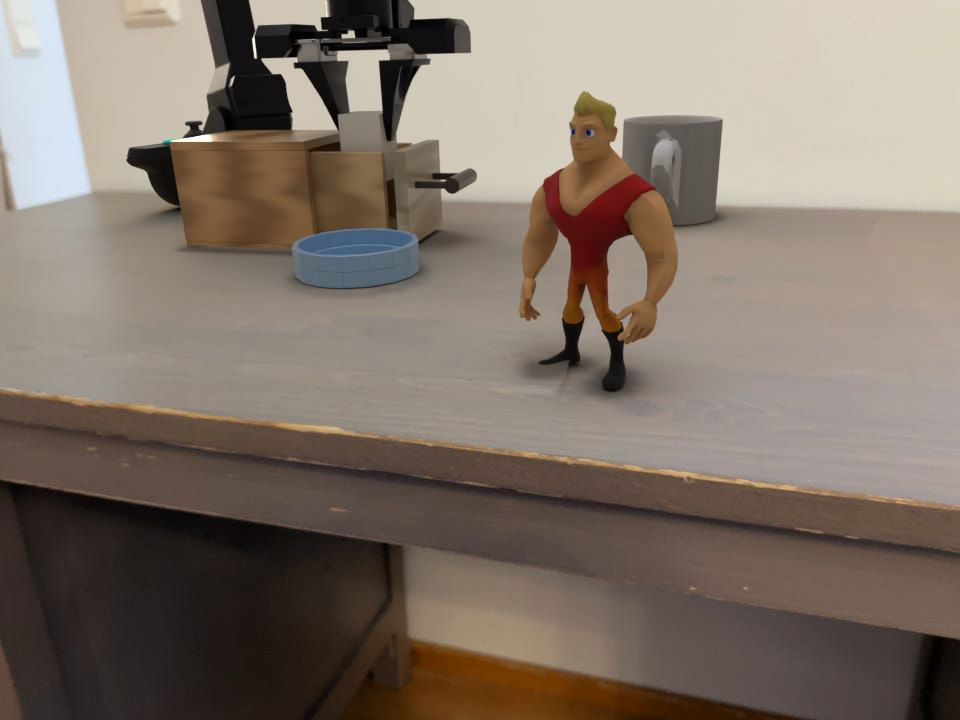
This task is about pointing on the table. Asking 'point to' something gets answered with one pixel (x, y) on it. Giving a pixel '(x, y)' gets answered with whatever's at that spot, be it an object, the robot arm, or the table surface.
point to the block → (366, 136)
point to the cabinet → (247, 186)
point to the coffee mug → (677, 161)
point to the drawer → (382, 188)
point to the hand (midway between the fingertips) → (369, 140)
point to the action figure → (598, 235)
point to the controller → (161, 164)
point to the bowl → (356, 257)
